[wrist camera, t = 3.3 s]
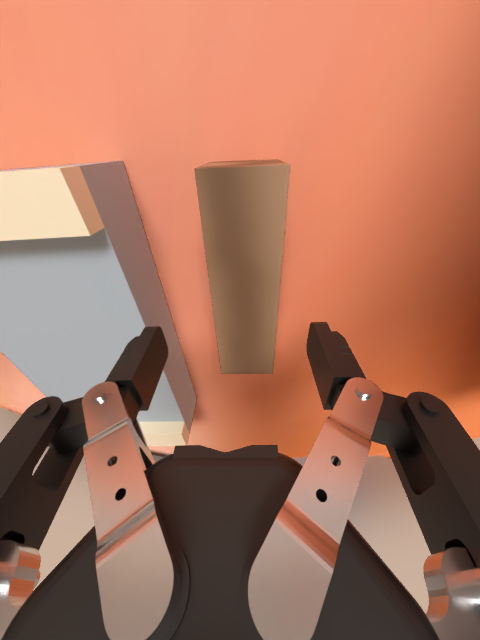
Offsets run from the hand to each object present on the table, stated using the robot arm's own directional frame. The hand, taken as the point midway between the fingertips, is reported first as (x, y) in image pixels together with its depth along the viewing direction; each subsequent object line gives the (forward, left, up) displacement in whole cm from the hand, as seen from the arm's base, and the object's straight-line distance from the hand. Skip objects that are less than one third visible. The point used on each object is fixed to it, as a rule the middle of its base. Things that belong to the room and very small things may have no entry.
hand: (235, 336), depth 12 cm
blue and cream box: (+14, +6, -9) cm, 18 cm away
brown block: (-1, 0, -10) cm, 10 cm away
